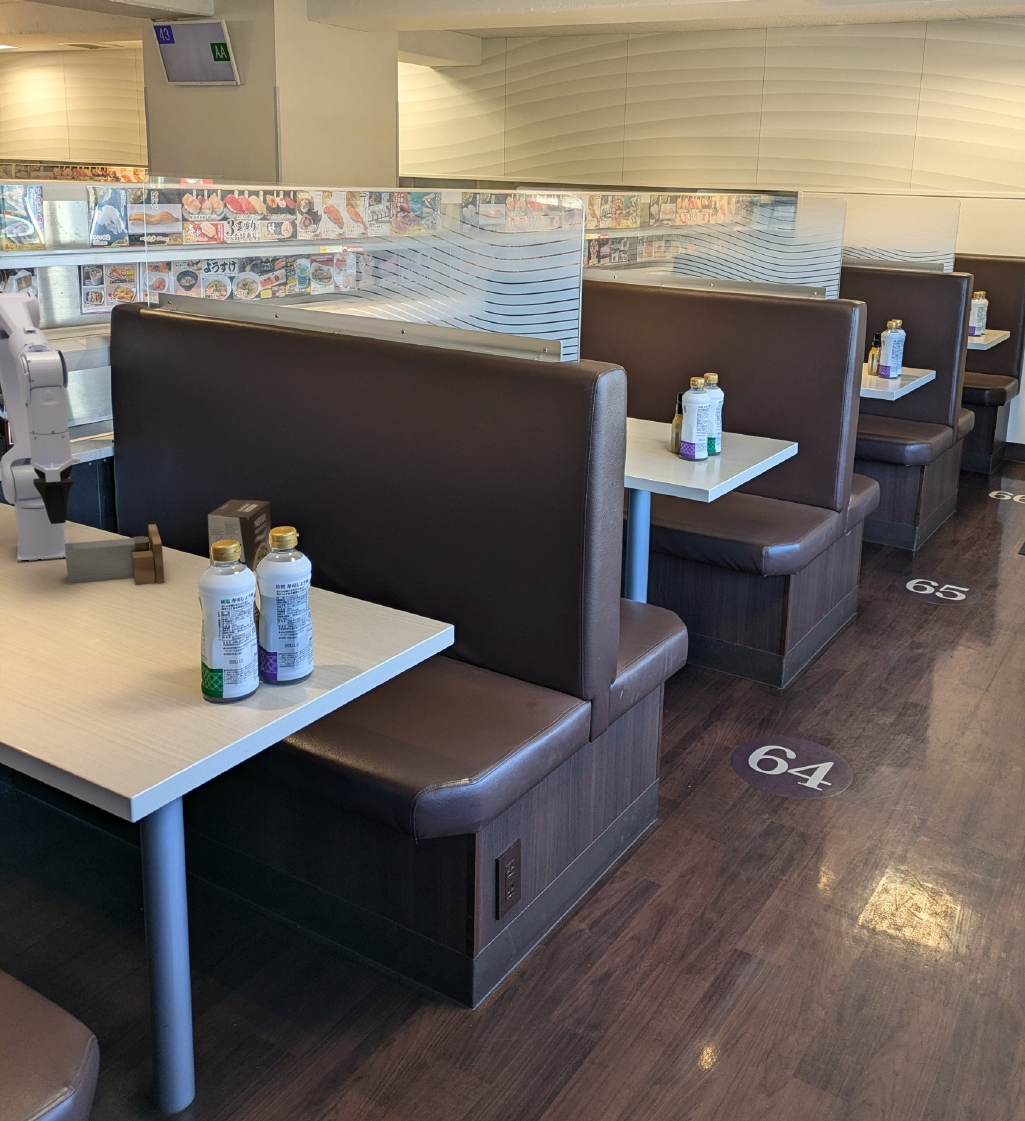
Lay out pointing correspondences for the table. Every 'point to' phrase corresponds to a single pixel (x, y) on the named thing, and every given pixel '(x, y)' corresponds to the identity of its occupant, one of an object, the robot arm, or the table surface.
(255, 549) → the coffee box
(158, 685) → the table surface
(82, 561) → the rail
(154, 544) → the post block
